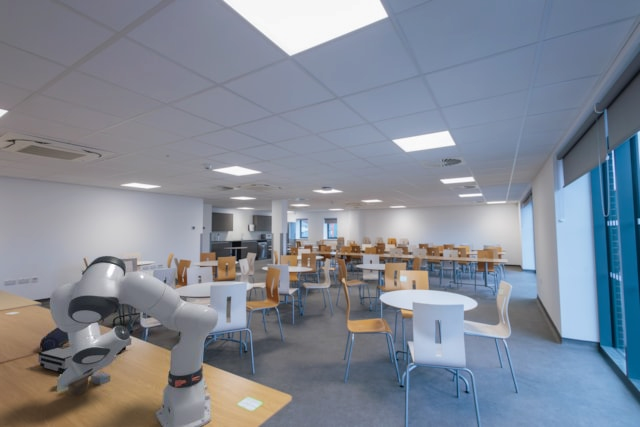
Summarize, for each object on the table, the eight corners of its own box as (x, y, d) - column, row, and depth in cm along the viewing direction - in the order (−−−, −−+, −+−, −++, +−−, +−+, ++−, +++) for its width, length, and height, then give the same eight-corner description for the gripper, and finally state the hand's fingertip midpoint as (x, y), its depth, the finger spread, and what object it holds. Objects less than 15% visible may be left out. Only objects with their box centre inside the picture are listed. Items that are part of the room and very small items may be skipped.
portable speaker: (55, 340, 177) (57, 323, 178) (75, 337, 181) (77, 321, 182) (36, 355, 154) (37, 336, 155) (59, 352, 158) (61, 334, 159)
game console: (130, 351, 161) (131, 336, 162) (63, 377, 131) (65, 358, 132) (106, 346, 168) (107, 332, 169) (37, 369, 138) (38, 352, 139)
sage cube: (72, 388, 121) (73, 376, 121) (56, 391, 118) (57, 379, 119) (74, 383, 125) (75, 371, 126) (59, 386, 122) (60, 374, 123)
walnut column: (87, 389, 120) (88, 370, 120) (76, 395, 115) (77, 375, 116) (79, 388, 120) (80, 369, 121) (67, 394, 116) (69, 374, 117)
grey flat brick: (110, 382, 126) (110, 375, 127) (99, 386, 123) (100, 379, 123) (100, 377, 130) (101, 371, 130) (90, 381, 127) (91, 374, 127)
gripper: (117, 342, 128) (97, 363, 129) (68, 362, 108) (46, 386, 109) (124, 353, 126) (105, 374, 127) (77, 375, 106) (54, 399, 107)
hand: (77, 380), depth 118 cm, fingers open, 8 cm apart
